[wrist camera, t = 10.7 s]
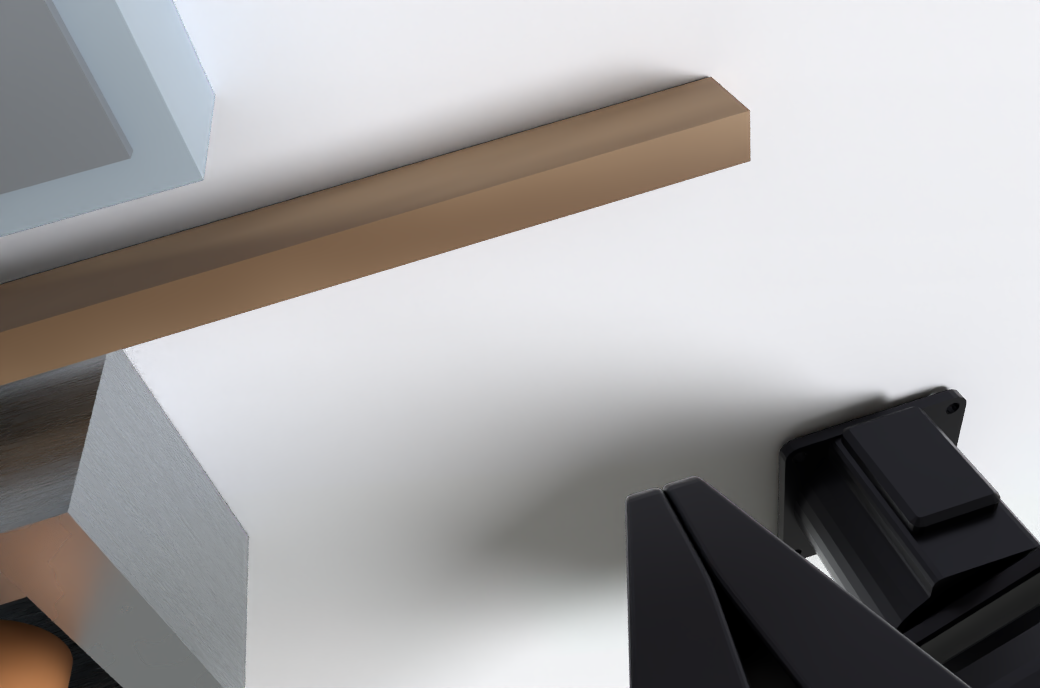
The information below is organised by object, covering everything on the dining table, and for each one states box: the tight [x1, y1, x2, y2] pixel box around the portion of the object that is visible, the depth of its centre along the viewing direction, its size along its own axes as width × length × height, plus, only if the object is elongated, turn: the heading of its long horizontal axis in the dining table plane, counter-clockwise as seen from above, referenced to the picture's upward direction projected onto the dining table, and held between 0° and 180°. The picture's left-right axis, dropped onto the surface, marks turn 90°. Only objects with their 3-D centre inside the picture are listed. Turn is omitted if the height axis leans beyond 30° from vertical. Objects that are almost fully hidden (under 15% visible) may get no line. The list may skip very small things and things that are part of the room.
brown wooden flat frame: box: [0, 77, 750, 386], centre depth 14 cm, size 13×25×3 cm, turn 101°
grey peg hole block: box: [0, 349, 249, 688], centre depth 20 cm, size 8×8×6 cm
